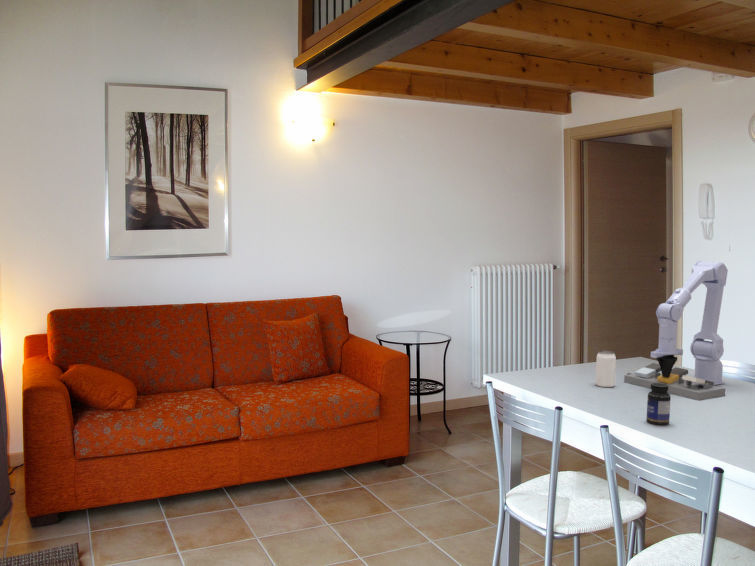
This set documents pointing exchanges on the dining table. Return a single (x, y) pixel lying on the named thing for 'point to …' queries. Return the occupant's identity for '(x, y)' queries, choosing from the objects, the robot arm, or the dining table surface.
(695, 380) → the rocker
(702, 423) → the dining table surface
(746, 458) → the dining table surface
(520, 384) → the dining table surface
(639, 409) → the dining table surface
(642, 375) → the rocker
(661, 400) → the pill bottle
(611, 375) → the can
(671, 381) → the block
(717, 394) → the rocker switch panel
